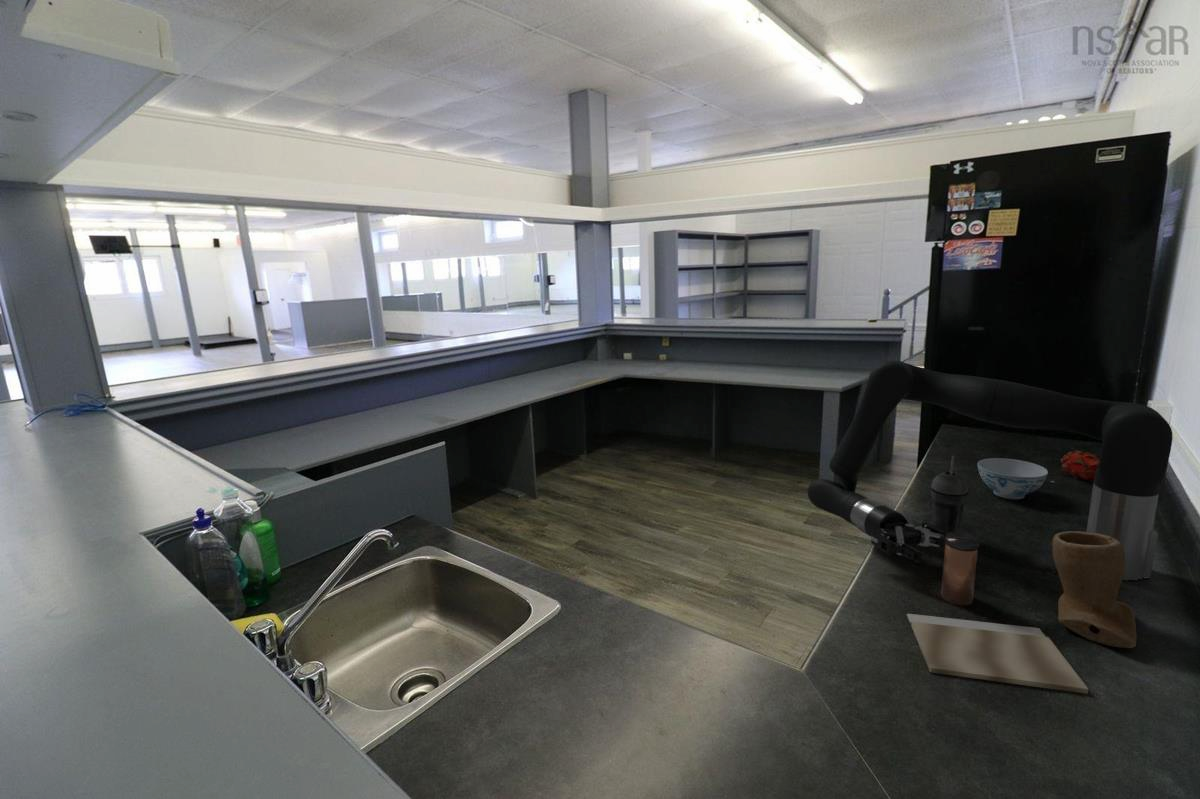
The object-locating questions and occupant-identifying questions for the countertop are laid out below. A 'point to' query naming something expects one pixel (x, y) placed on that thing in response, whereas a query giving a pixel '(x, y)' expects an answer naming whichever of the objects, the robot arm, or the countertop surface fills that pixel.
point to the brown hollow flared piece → (1093, 588)
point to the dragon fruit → (1080, 464)
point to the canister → (959, 568)
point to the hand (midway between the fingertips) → (938, 554)
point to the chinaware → (1011, 476)
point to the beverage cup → (948, 500)
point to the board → (996, 657)
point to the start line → (975, 625)
